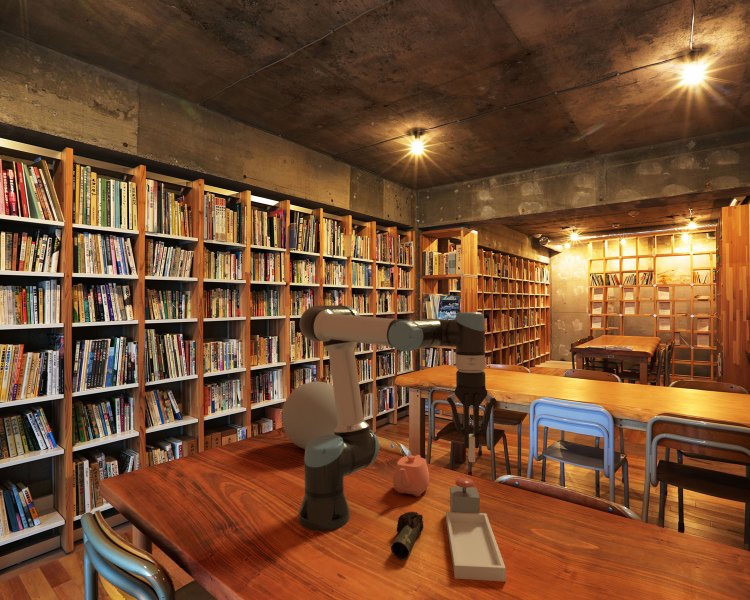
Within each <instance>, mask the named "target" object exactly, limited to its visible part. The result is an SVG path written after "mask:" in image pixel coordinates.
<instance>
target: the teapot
mask: <svg viewBox="0 0 750 600" xmlns="http://www.w3.org/2000/svg"><path fill="white" fill-rule="evenodd" d="M429 484H430V473H429V467H428V464H427V460H426V459H425V458H423V457H422V456H421V455H420V454H416V455H405V456H403V457H401V458H400V459H399V460H398V461H397V462H396V466H395V468H394V473H393V478H392V487H393V488H394V490H395V491H396V492H397V493H398V494H408V495H413V496H414V497H420V496H421V495H422V494H423V493H424V492H425V491H426V490H427V488H428V486H429Z"/></svg>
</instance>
